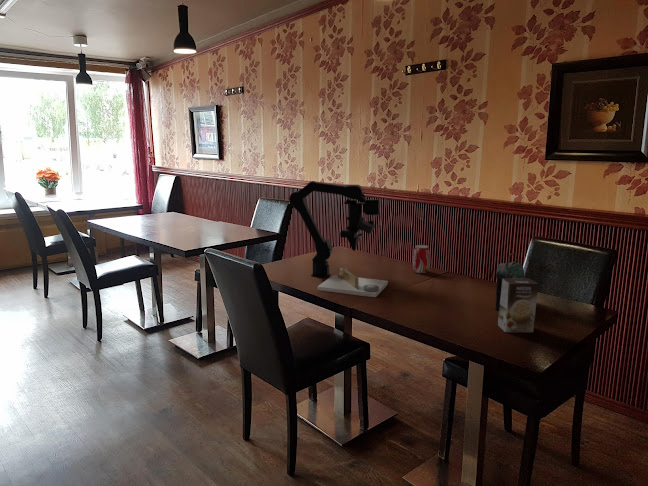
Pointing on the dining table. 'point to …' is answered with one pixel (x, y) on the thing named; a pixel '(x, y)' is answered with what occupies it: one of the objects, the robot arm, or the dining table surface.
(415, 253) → the soda can
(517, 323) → the coffee box
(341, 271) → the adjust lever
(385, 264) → the dining table surface
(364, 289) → the base
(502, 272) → the ceramic cat
